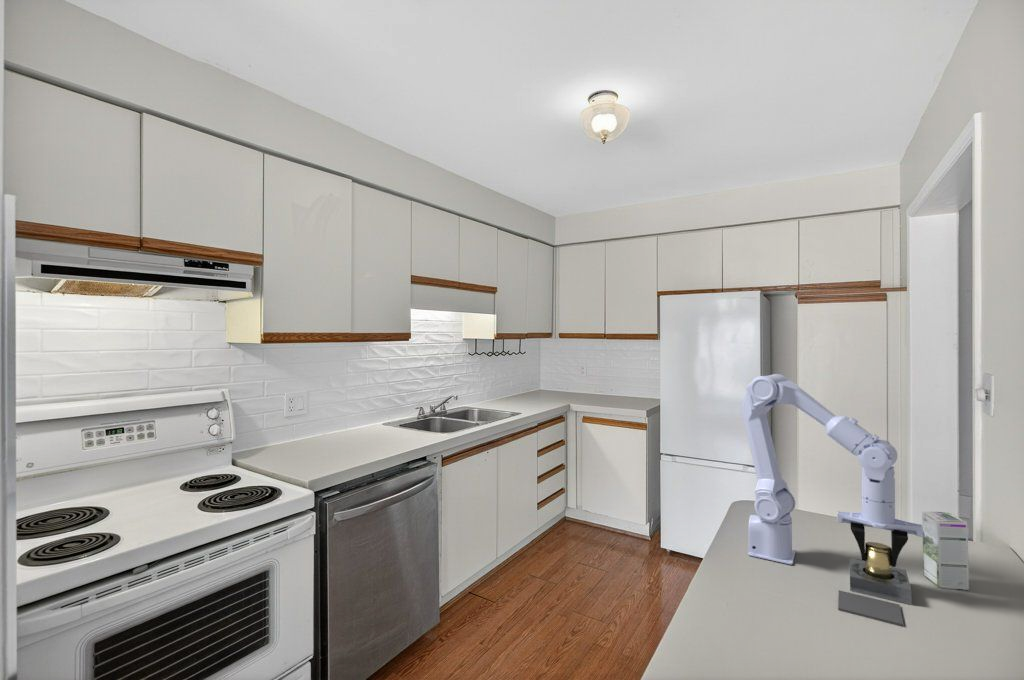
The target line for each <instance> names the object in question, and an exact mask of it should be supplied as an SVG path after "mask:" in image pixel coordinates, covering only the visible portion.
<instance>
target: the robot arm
mask: <svg viewBox="0 0 1024 680" xmlns="http://www.w3.org/2000/svg"><path fill="white" fill-rule="evenodd" d="M745 389H746V391H745V392H746V393H745V397H744V399H743V403H742V406H741V413H742V418H743V423H744V426H745V430H746V435H747V441H748V444H749V448H750V449H749V450H750V453H751V457H752V461H753V466H754V471H755V476H756V479H757V481H756V485H755V488H754V494H755V500H754V504H753V505H754V510H755V512H756V514H750V516H749V518H748V530H747V531H748V533H747V534H748V537H747V538H748V540H747V541H748V542H747V543H748V551H747V552H748V553H747V554H748V556H749V557H755V558H759V559H764V560H768V561H772V562H777V563H781V564H786V565H791V566H792V565H793V564H794V559H795V556H796V550H793V518H792V516H791V512H793V511H794V509H795V508H796V500H795V497H794V495H793V494H792V493H791V491H790V490H789V487H788V483H787V482H786V481H785V480H784V479H783V477H782V475H781V472H780V466H779V464H778V458H777V454H776V450H775V447H774V441H773V438H772V433H771V429H770V425H769V421H768V416H767V414H768V412H769V411H770V410H771V408H772V407H773V406H775V404H785V405H792V406H795V407H796V408H797V409H799V410H800V411H802V412H803V413H805V414H806V415H808V416H810V418H812V419H814V420H815V421H817V422H818V423H819V424H821V425H823V427H825V430H826V434H827V436H828V437H829V438H831V439H832V440H833V441H835V443H837V444H838V445H840V446H842V447H843V448H844V449H845V450H846V451H848V452H849V453H850V454H852V455H854V456H856V458H857V460H858V463H859V464H860V465H861V512H850V511H849V512H848V511H847V512H846V511H840V510H838V511H837V512H836V522H837V523H838V524H844V523H845V524H850V530H851V533H852V534H853V536H854V539H855V540H856V542H857V546H858V547H859V548H858V549H859V552H860V556H861V561H866V554H865V543H866V542H865V540H866V539H865V538H866V532H865V527H868V528H874V529H880V530H885V531H890V533H891V535H890V537H891V547H890V548H891V567H895V568H897V561H898V558H899V555H900V553H901V551H902V550H903V548H904V547H905V545H906V544H907V542H908V541H909V535H915V536H916V537H919V538H920V537H921V538H923V527H922V524H919V523H916V522H915V523H914V522H909V521H906V520H901V519H897V518H896V479H895V473H896V472H895V466H893V465H894V464H895V463H896V462H897V459H898V452H897V449H896V448H895V446H893V445H892V444H891V443H890V441H888V440H885V439H880V437H879V436H878V435H877V434H875V433H874V434H872V433H871V432H869V431H868V430H866V429H865V428H864V427H862V426H861V425H859V424H858V422H859V421H858V420H857V419H856V418H854V417H851V418H850V417H848V416H847V415H835V414H834V413H833V412H831V410H829V409H828V408H827V407H826V406H824V405H823V404H821V403H820V402H819V401H818V400H817V399H816V398H815V397H813V396H811V395H810V394H809V393H808V392H807V391H805V390H803V388H801V387H800V386H799V385H798V384H797V383H796V382H794V381H793V380H788V378H787V377H786V376H784V375H783V374H780V373H773V374H769V375H760V376H759V375H758V376H757V377H754V378H753V379H752V380H751V381H750V382H749V384H748V385H746V387H745ZM908 534H909V535H908Z"/></svg>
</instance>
